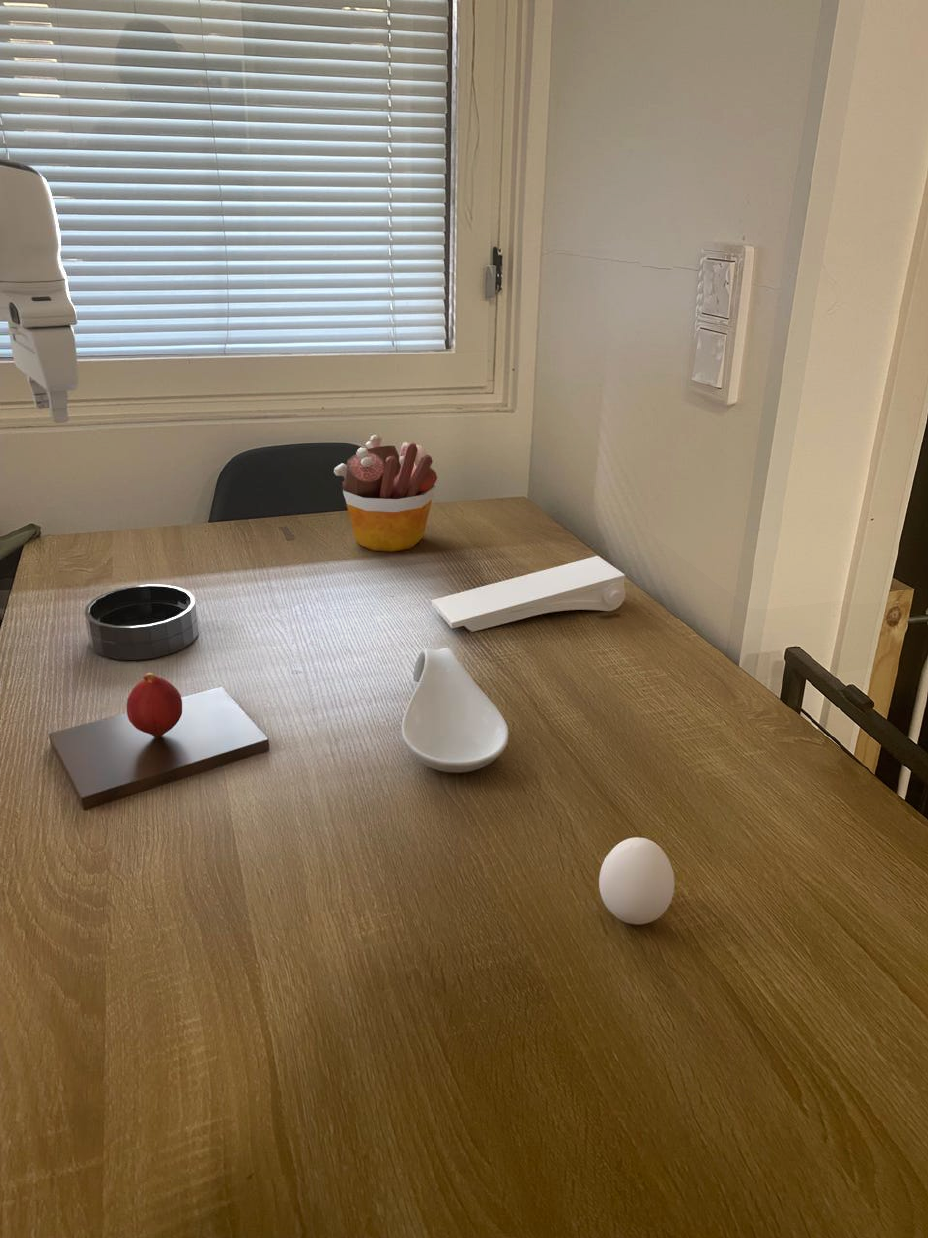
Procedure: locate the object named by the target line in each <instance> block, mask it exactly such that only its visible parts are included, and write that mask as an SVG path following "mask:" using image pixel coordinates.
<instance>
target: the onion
mask: <svg viewBox="0 0 928 1238" xmlns="http://www.w3.org/2000/svg"><path fill="white" fill-rule="evenodd" d="M181 697H182V695H181V694H180V691H178V689H177V688H176V686H175V685H173V683H171V682H170V681H168V680H167V679H165V678H162V677H159V676H157V675H155V673H152V672H148V673H146V674H144V676H142V680H141V681H139V682H137V684H136V685H134V687H133V688H132V689H131V691H130V693H129V695H128V697H127V699H126V713H127V716H128V719H129V721H130V722H131V723H132V725H133V726H134V727H135V728H137V729H138V730H140V731H142V732H144V733H147V734H150V735H152V736H154V737H161V736H163V735H164V734H165V733H167V732H168V731H170V730H171V729H172V728H173V727H174V726H175V725H176V724H177V722H178V721H179V719H180V717H181V715H182V699H181Z"/></svg>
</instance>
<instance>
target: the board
mask: <svg viewBox="0 0 928 1238" xmlns="http://www.w3.org/2000/svg"><path fill="white" fill-rule="evenodd" d="M181 699H182V715H181V717H180V719H179V721H178V722H177V724H176V725H175V726H174V727H173V728H172V729H171V730H170V731H168V732H167V733H165V734H164V735H163V736H161V737H154V736H152V735H150V734H147V733H144V732H142V731H140V730H138V729H137V728H135V727H134V726H133V725H132V723H131V722H130V721H129V719H128V716H127V712H124V713H123V712H122V713H120V714H116V715H113V716H109V717H105V718H101V719H98V720H94V721H90V722H87V723H83V724H80V725H77V726H73V727H69V728H66V729H62V730H58V731H54V732H51V733H49V734H48V739H49V742H50V747H51V748H52V750H53V752H54V754H55V756H56V758H57V761H58V762H59V764H60V766H61V768H62V770H63V772H64V774H65V776H66V778H67V780H68V782H69V784H70V787H71V788H72V790H73V792H74V794H75V796H76V798H77V800H78V802H79V804H80V806H81V808H82V810H83V811H85V810H88V809H91V808H94V807H98V806H100V805H104V804H106V803H110V802H112V801H116V800H119V799H122V798H125V797H129V796H132V795H135V794H137V793H141V792H144V791H147V790H150V789H153V788H158V787H160V786H162V785H166V784H169V783H171V782H175V781H178V780H180V779H184V778H187V777H190V776H193V775H197V774H200V773H203V772H206V771H209V770H212V769H216V768H219V767H222V766H224V765H228V764H231V763H234V762H237V761H240V760H244V759H246V758H249V757H252V756H256V755H259V754H261V753H265V752H268V751H270V740H269V738H268V737H267V736H266V734H265V733H264V732H263V731H262V730H261V729H260V727H258V725H257V724H256V723H255V722H254V721H253V720H252V719H251V718H250V717H249V715H248V714H247V713H246V711H244V709H243V708H242V707H240V705H239V704H238V702H236V701H235V699H234V698H232V696H231V695H230V694H229V692H228V691H226V690H225V689H224V687H223V686H218V687H215V688H211V689H207V690H204V691H200V692H196V693H193V694H189V695H185V696H181Z"/></svg>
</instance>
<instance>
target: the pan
mask: <svg viewBox="0 0 928 1238" xmlns="http://www.w3.org/2000/svg"><path fill="white" fill-rule="evenodd" d="M84 619H85V625H86V631H87V637H88V644H89V646H90V647H91V649H92V650H93V652H94V653H97V654H99V655H101V656H102V657H105V658H110V659H114V660H119V661H120V660H121V661H122V660H123V661H141V660H150V659H155V658H160V657H163V656H168V655H171V654H173V653H175V652H178V651H180V650H183V649H185V648H186V647H187V646H189V645H190V644H192V643H193V642H195V640H196V638H197V637H198V635H199V624H198V615H197V606H196V597H195V596H194V595H193V594H192V593H191V592H190V591H189V590H187V589H185V588H181V587H179V586H174V585H168V584H142V585H141V584H139V585H131V586H126V587H121V588H116V589H113V590H110V591H108V592H105V593H102V594H101V595H99V596H97V597H95V598H93V599H92V600H91V601H89V603H88V604H87V605H86V606H85V609H84Z"/></svg>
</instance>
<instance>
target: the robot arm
mask: <svg viewBox="0 0 928 1238" xmlns="http://www.w3.org/2000/svg"><path fill="white" fill-rule="evenodd" d="M58 221H59V220H58V216H57V212H56V207H55V202H54V199H53V195H52V192H51V189H50V186H49V184H48V182H47V179H46V178H45V177H44V176H43V175H42V174H41V172H39V171H38V170H36V169H35V168H33V167H32V166H30V165H28V164H27V165H26V164H23V163H20V162H14V161H10V160H5V159H0V321H1V322H7V325H8V332H9V340H10V346H11V353H12V358H13V362H14V365H15V367H16V368H17V369H18V370H19V371H21V372H22V373H24V374H25V375H26V379H27V382H28V386H29V388H30V392H31V394H32V399H33V403H34V406H35V407H36V408H38V409H40V410H43V409H49V414H50V419H51V420H52V421H53V422H54V423H55V424H63V423H67V422H68V421H69V415H68V399H69V398H68V397H69V395H68V391H75V390H77V388H78V383H79V368H78V366H79V365H78V356H77V355H78V354H77V344H76V336H75V332H74V328H73V327H72V326H76V325H78V317H77V311H76V309H75V305H74V304H73V302H72V301H71V296H70V291H69V284H68V279H67V278H68V277H67V273H66V271H65V269H64V266H63V264H62V260H61V245H62V242H61V241H62V240H61V239H62V238H61V232H60V227H59V222H58Z"/></svg>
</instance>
